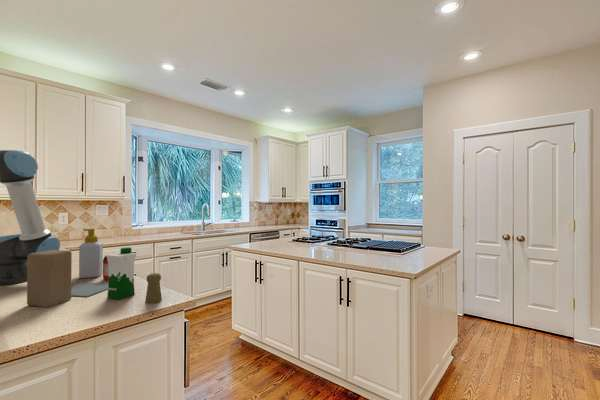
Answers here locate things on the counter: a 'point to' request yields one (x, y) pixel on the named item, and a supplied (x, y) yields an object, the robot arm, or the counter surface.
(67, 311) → the counter surface
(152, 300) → the olive peg figure
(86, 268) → the soap bottle
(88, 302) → the counter surface
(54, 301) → the block
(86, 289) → the mat
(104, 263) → the beverage can
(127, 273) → the milk carton
